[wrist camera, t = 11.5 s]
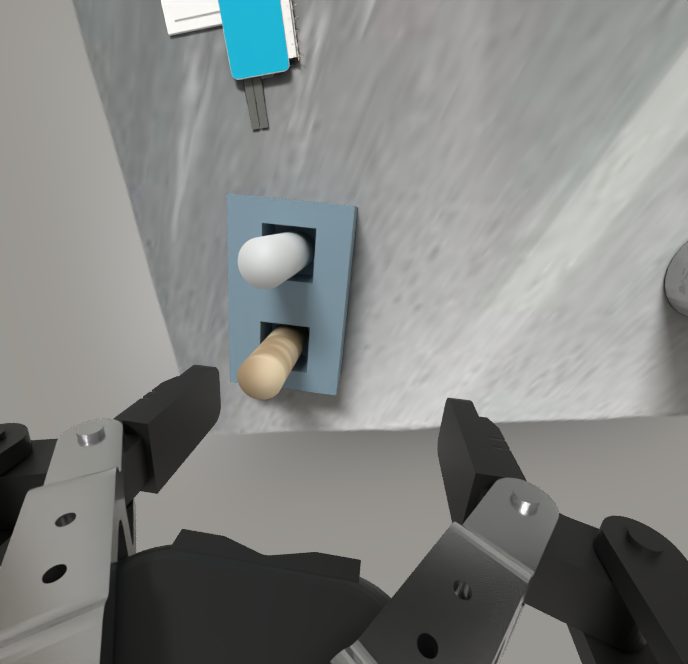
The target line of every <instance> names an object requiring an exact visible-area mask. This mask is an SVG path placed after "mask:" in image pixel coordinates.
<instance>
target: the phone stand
mask: <svg viewBox="0 0 688 664" xmlns="http://www.w3.org/2000/svg"><path fill="white" fill-rule="evenodd" d="M161 3H162V8H163V12H164V17H165V21H166V25H167V30H168V34H169V35H170V36H172V35H177V34H182V33H186V32H191V31H196V30H201V29H206V28H211V27H216V26H221V25H222V26H223V31H224V36H225V42H226V47H227V53H228V58H229V63H230V69H231V74H232V76H233V77H234V78H235V79H236V80H241V79H243V83H244V89H245V95H246V100H247V103H248V108H249V114H250V119H251V125H252V130H254V129H260V127H259V121H258V115H257V109H256V103H255V102H257V108H258V114H259V120H260V126H261V128H266V127H268V121H267V115H266V109H265V103H264V100H265V98H264V92H263V86H262V80H261V79H265V78H270V77H274V76H273V74H274V73H279V72H285V71H287V70H288V69H289V66H292V65H295V62H289V58H294V57H297V59H298V61H299V59H300V57H299V54H298V44H299V43H298V44H297V39H296V35H297V33H296V32H297V31H299V30H300V29H299V30H297V31H295V24H294V23H295V20H294V19H296V18H297V17H296V18H294V16H293V10H294V9H293V6H294V5H296V4H294V5H293V6H292V1H291V0H161ZM300 43H301V42H300ZM288 55H289V56H288ZM302 55H303V54H302ZM300 56H301V55H300ZM299 63H300V62H299Z"/></svg>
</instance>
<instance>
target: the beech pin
mask: <svg viewBox="0 0 688 664" xmlns="http://www.w3.org/2000/svg"><path fill="white" fill-rule="evenodd" d="M308 340H309V331H308V328H307V327H304V326H295V325H287V324H279V325H278V326H277V327H276V328H275V329H274V330H273V331H272V332H271V334H270V335H269V336H268V337H267V338H266V339H265V340H264V341H263V342H262V343H261V344H260V345H259V346H258V347H257V348H256V350H255V351H254V352H253V353H252V354H251V355H250V356H249V357H248V358H247V359H246V360H245V361H244V362H243V363H242V364H241V366H240V367H239V370H238V373H237V379H238V383H239V385H240V387H241V389H242V390H243V391H244V392H245V393H246V394H247V395H249V396H250V397H252V398H255V399H259V400H266V399H270V398H272V397H274V396H276V395H277V394H278V393H279V391H280V390H281V388H282V386H283V384H284V383H285V381H286V379H287V377H288V376H289V374H290V372H291V370H292V368H293V367H294V365H295V363H296V361H297V360H298V358H299V356H300V354H301V353H302V351H303V349H304V347H305V346H306V344H307V342H308Z"/></svg>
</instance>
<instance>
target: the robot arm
mask: <svg viewBox="0 0 688 664" xmlns="http://www.w3.org/2000/svg"><path fill="white" fill-rule="evenodd" d="M665 290H666V295H667V298H668V300H669V302H670V304H671V305H672V306H673V307H674V308H675V309H676V310H677V311H678V312H680V313H681V314H683V315H685V316H688V242H687V243H686V244H684V245H683V246H682V247H681V249H680V250H679V251H678V252H677V254H676V255H675V256H674V258H673V260H672V262H671V264H670V265H669V268H668V271H667V274H666V279H665ZM220 409H221V401H220V381H219V371H218V369H217V368H216V367H210V366H202V365H193V366H192V367H190V368H189V369H188V370H186V371H185V372H184V373H183V374H181V375H180V376H177V377H174V378H172V379H170V380H167V381H165V382H162V383H161V384H160V385H158V386H157V387H156V388H154V389H153V390H152V392H149V393H147V394H146V395H145V396H143V399H139V400H138V401H137V402H136V403H134V404H133V405H131V406H130V407H129V408H127V409H126V410H124V411H123V412H122V413H120V414H119V415H118V416H116V417H115V418H114V419H95V420H90V421H86V422H83V423H81V424H78V425H76V426H73V427H71V428H70V429H68V430H67V431H65V432H64V433H63V434H62V435H61V436H60V437H59V438H58V439H47V440H30V436H29V432H28V429H27V427H26V426H25V425H22V424H18V423H6V424H0V664H500V662H501V660H502V657H503V655H504V652H505V650H506V648H507V646H508V643H509V641H510V639H511V636H512V634H513V632H514V629H515V627H516V624H517V622H518V620H519V618H520V616H521V613H522V611H523V609H524V606H525V604H528V605H530V606H532V607H534V608H536V609H538V610H540V611H542V612H544V613H546V614H548V615H550V616H552V617H554V618H556V619H558V620H560V621H562V622H564V623H566V624H567V626H568V628H569V631H570V633H571V636H572V638H573V641H574V644H575V646H576V649H577V652H578V654H579V657H580V659H581V662H582V664H688V561H687V560H686V558H685V557H684V556H683V554H682V553H681V552H680V551H679V550H678V549H677V548H676V547H675V545H673V544H672V543H671V542H670V541H669V540H668V539H667V538H665V537H664V536H663V535H661V534H660V533H658V532H657V531H655V530H654V529H652V528H650V527H649V526H646V525H645V524H643V523H640V522H638V521H636V520H633V519H630V518H627V517H622V516H610V517H607V518H605V519H604V520H603V522H602V524H601V526H600V529H598V528H595V527H593V526H590V525H587V524H585V523H582V522H579V521H577V520H574V519H571V518H569V517H566V516H564V515H562V514H560V513H559V511H558V508H557V506H556V504H555V502H554V501H553V500H552V499H551V497H550V496H549V495H548V494H546V493H545V492H544V491H543V490H541V489H540V488H538V487H537V486H535V485H533V484H531V483H529V482H527V481H526V479H525V477H524V475H523V473H522V471H521V469H520V467H519V466H518V464H517V462H516V460H515V458H514V456H513V454H512V452H511V451H510V450H509V447H508V445H507V443H506V441H505V439H504V437H503V435H502V433H501V431H500V429H499V428H498V427H497V426H496V425H495V424H494V423H493V422H491V421H490V420H489V419H488V418H486V417H479V416H478V413H477V411H476V409H475V407H474V405H473V403H472V401H470V400H463V399H455V398H447V400H446V403H445V408H444V413H443V417H442V422H441V427H440V432H439V437H438V457H439V462H440V467H441V472H442V477H443V481H444V486H445V491H446V495H447V500H448V505H449V509H450V514H451V519H452V524H451V525H450V527H449V528H448V529H447V530H446V532H445V533H444V534H443V535H442V536H441V538H440V539H439V540H438V541H437V543H436V544H435V545H434V546H433V547H432V549H431V550H430V551H429V552H428V554H427V555H426V556H425V557H424V559H423V560H422V561H421V562H420V563H419V565H418V566H417V567H416V568H415V570H414V571H413V572H412V573H411V575H410V576H409V577H408V578H407V579H406V581H405V582H404V583H403V585H402V586H401V587H400V588H399V589H398V591H397V592H396V593H395V595H394V596H393V597H392V598H390V597H389V596H388V595H387V594H386V593H385V592H383V591H382V590H381V589H380V588H379V587H377V586H375V585H374V584H372V583H371V582H369V581H367V580H365V579H363V578H361V577H359V575H360V563H361V560H358V559H352V558H346V557H341V556H335V555H329V554H323V553H318V552H309V553H298V554H284V555H269V556H268V555H263V554H260V553H258V552H256V551H254V550H252V549H250V548H247V547H246V546H243V545H241V544H239V543H237V542H235V541H233V540H231V539H229V538H227V537H225V536H220V535H214V534H209V533H203V532H197V531H191V530H186V529H182V530H181V532H180V533H179V535H178V536H177V538H176V539H175V541H174V543H173V544H172V545H165V546H160V547H155V548H151V549H148V550H144V551H142V552H139V553H136V505H135V499H134V497H135V496H136V495H137V494H138V493H139V492H140V491H144V492H150V493H156V494H157V493H158V492H159V491H160V490H161V489H162V487H163V486H164V485H165V484H166V483H167V481H168V480H169V479H170V478H171V477H172V475H173V474H174V473H175V472H176V471H177V469H178V468H179V467H180V466H181V464H182V463H183V462H184V461H185V460H186V458H187V457H188V456H189V455H190V453H191V452H192V451H193V450H194V449H195V448H196V446H197V445H198V444H199V443H200V442H201V440H202V439H203V438H204V437H205V436H206V434H207V433H208V432H209V431H210V430H211V428H212V427H213V426H214V425H215V423H216V422H217V420H218V418H219V414H220Z"/></svg>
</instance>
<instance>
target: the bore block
mask: <svg viewBox="0 0 688 664" xmlns="http://www.w3.org/2000/svg"><path fill="white" fill-rule="evenodd" d="M357 211H358V208H357V207H355V206H349V205H339V204H329V203H319V202H309V201H299V200H289V199H279V198H269V197H259V196H249V195H239V194H229V193H227V241H228V299H229V356H230V382H237V383H238V379H237V373H238V370H239V367H240V366H241V364H242V363H243V362H244V361H245V360H246V359H247V358H248V357H249V356H250V355H251V354H252V353H253V352H254V351H255V350H256V348H257V347H258V346H259V345H260V344H261V343H262V342H263V341H264V340H265V339H266V338H267V337H268V336H269V335H270V334H271V332H272V331H273V330H274V329H275V328H276V327H277V326H278V325H279V324H287V325H295V326H304V327H307V328H308V331H309V340H308V342H307V344H306V346H305V347H304V349H303V351H302V353H301V354H300V356H299V358H298V360H297V361H296V363H295V365H294V367H293V368H292V370H291V372H290V374H289V376H288V377H287V379H286V381H285V383H284V384H283V386H282V388H283V389H291V390H298V391H306V392H314V393H321V394H329V395H336V393H337V388H338V384H339V379H340V375H341V367H342V357H343V347H344V338H345V328H346V318H347V308H348V298H349V289H350V279H351V269H352V259H353V250H354V240H355V230H356V220H357Z"/></svg>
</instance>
